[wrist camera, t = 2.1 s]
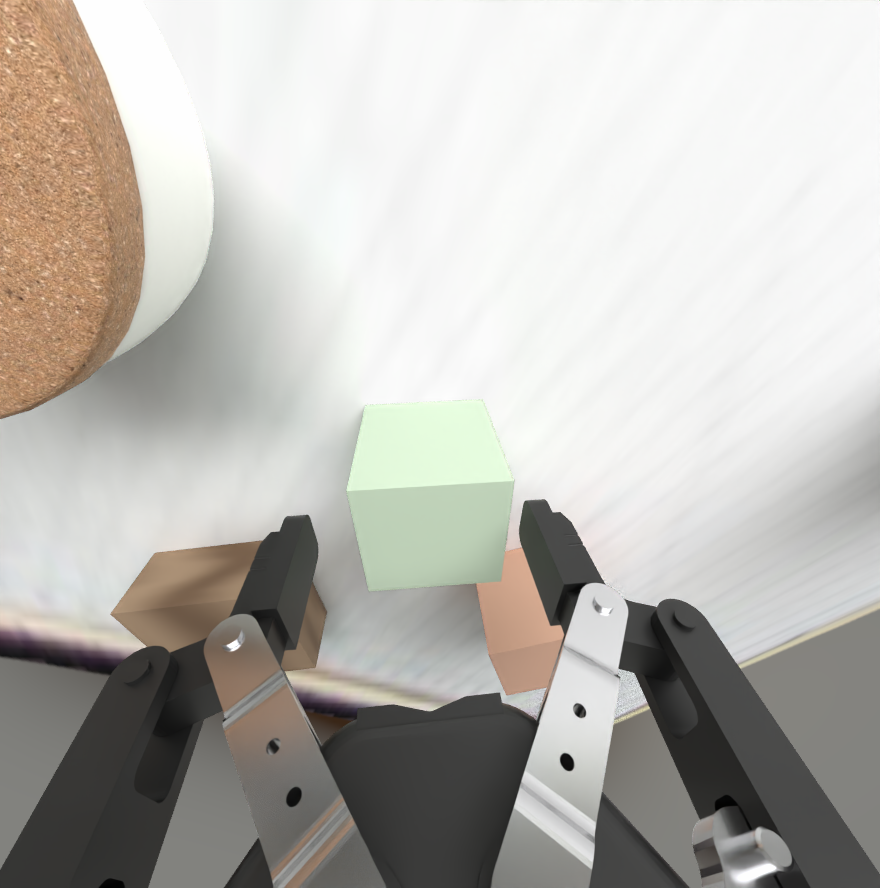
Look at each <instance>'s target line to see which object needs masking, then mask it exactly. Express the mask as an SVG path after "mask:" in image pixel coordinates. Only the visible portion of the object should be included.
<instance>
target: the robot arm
mask: <svg viewBox="0 0 880 888" xmlns="http://www.w3.org/2000/svg"><path fill="white" fill-rule="evenodd" d="M519 537H520V542H521V546H522V548H523V551H524V554H525V557H526V560H527V562H528V565H529V568H530V571H531V573H532V576H533V579H534V582H535V585H536V587H537V590H538V593H539V596H540V599H541V601H542V604H543V607H544V610H545V613H546V615H547V618H548V621H549V624H550V626H556V625H561V627H562V630H563V633H564V636H563V639H562V642H561V645H560V649H559V652H558V655H557V658H556V661H555V664H554V667H553V670H552V673H551V676H550V679H549V683H548V686H547V689H546V692H545V694H544V697H543V700H542V703H541V706H540V709H539V712H538V715H537V718H536V720H535V719H534V718H533V717H531V716H530V715H528V714H527V713H525V712H524V711H522V710H520V709H518V708H516V707H513V706H511V705H508V704H504V703H502V701H501V696H500V693H492V694H483V695H474V696H466V697H463V698H461V699H459V700H457V701H454V702H452V703H450V704H447V705H445V706H443V707H441V708H438V709H436V710H434V711H423V710H418V709H413V708H408V707H403V706H398V705H394V704H393V705H384V706H375V707H366V708H358V710H357V720H354V721H352V722H350V723H349V724H347V725H345V726H344V727H342V728H341V729H339V730H338V731H337V732H335V733H334V734H333V735H332V736H331V737H330V738H329V739H328V740H327V741H326V742H325V743H324V744H323V745H321V743H320V741H319V739H318V737H317V735H316V733H315V731H314V729H313V727H312V726H311V724H310V722H309V720H308V718H307V716H306V714H305V712H304V710H303V708H302V706H301V704H300V702H299V700H298V698H297V696H296V694H295V692H294V690H293V688H292V686H291V684H290V682H289V680H288V678H287V676H286V674H285V672H284V670H283V668H282V666H281V663H282V659H283V655H284V652H285V651H286V650H296V648H297V644H298V640H299V635H300V631H301V627H302V623H303V618H304V614H305V610H306V606H307V602H308V597H309V593H310V589H311V585H312V580H313V576H314V572H315V568H316V563H317V559H318V543H317V539H316V536H315V533H314V529H313V526H312V523H311V519H310V517H309V515H300V516H287V517H285V519H284V521H283V524H282V527H281V529H280V532H271V533H270V534H269V535H268V536H267V537H266V538H265V539H264V540H263V541H262V543H261V544H260V545H259V548H258V550H257V552H256V555H255V557H254V560H253V562H252V564H251V567H250V571H248V574H247V576H246V579H245V581H244V583H243V586H242V588H241V591H240V593H239V595H238V598H237V600H236V603H235V605H234V607H233V610H232V612H231V614H230V616H229V618H227V619H225V620H224V621H222V622H221V623H220V624H218V625H217V626H216V627H215V628H214V629H213V630H212V631H211V633H210V634H209V636H208V637H207V638H205V639H203V640H201V641H198V642H196V643H193V644H190V645H188V646H185V647H183V648H180V649H178V650H175V651H172V652H169V651H168V650H167V649H166V648H164V647H162V646H149V647H146V648H143V649H141V650H139V651H136V652H135V653H133V654H131V655H130V656H129V657H127V658H126V659H125V660H124V661H122V662H121V663H120V664H119V665H118V666H117V667H116V669H115V670H114V671H113V672H112V674H111V675H110V677H109V678H108V680H107V682H106V684H105V686H104V687H103V689H102V691H101V693H100V694H99V696H98V698H97V700H96V702H95V703H94V705H93V707H92V709H91V710H90V712H89V714H88V716H87V717H86V719H85V721H84V723H83V725H82V726H81V728H80V730H79V732H78V733H77V735H76V737H75V739H74V740H73V742H72V744H71V746H70V747H69V749H68V751H67V753H66V755H65V756H64V758H63V760H62V762H61V763H60V765H59V767H58V769H57V770H56V772H55V774H54V776H53V778H52V779H51V781H50V783H49V785H48V786H47V788H46V790H45V792H44V793H43V795H42V797H41V799H40V801H39V802H38V804H37V806H36V808H35V809H34V811H33V813H32V815H31V816H30V819H29V820H28V822H27V824H26V825H25V827H24V829H23V831H22V832H21V834H20V836H19V838H18V840H17V841H16V843H15V845H14V847H13V848H12V850H11V852H10V854H9V855H8V857H7V859H6V861H5V862H4V864H3V866H2V868H1V870H0V888H148V886H149V883H150V880H151V877H152V874H153V871H154V868H155V865H156V862H157V859H158V856H159V853H160V850H161V847H162V844H163V841H164V838H165V835H166V832H167V829H168V826H169V823H170V820H171V817H172V814H173V811H174V808H175V805H176V802H177V799H178V796H179V793H180V790H181V787H182V784H183V781H184V778H185V775H186V772H187V769H188V766H189V763H190V760H191V757H192V754H193V751H194V748H195V745H196V742H197V739H198V736H199V733H200V730H201V727H202V724H203V721H204V719H205V718H208V717H210V716H212V715H214V714H216V713H218V712H221V711H223V712H224V716H225V719H224V720H223V728H224V732H225V735H226V738H227V741H228V744H229V748H230V751H231V754H232V757H233V760H234V763H235V766H236V769H237V772H238V775H239V778H240V781H241V784H242V787H243V790H244V793H245V797H246V800H247V803H248V805H249V809H250V812H251V815H252V818H253V821H254V824H255V827H256V830H257V833H258V836H259V837H258V839H257V840H256V842H255V843H254V845H253V846H252V848H251V849H250V850H249V852H248V854H247V855H246V856H245V858H244V859H243V861H242V862H241V864H240V865H239V866H238V868H237V869H236V871H235V872H234V874H233V875H232V877H231V878H230V880H229V881H228V883H227V884H226V886H225V887H224V888H689V886H688V885H687V884H686V883H685V882H684V881H683V880H682V878H681V877H680V876H679V875H678V874H677V873H676V872H675V871H674V870H673V869H672V868H671V867H670V865H669V864H668V863H667V862H666V861H665V860H664V859H663V858H662V857H661V856H660V854H659V853H658V852H657V851H656V850H655V849H654V848H653V847H652V846H651V845H650V843H649V842H648V841H647V840H646V839H645V838H644V837H643V836H642V835H641V834H640V832H639V831H637V829H636V828H635V827H634V826H633V825H632V824H631V823H630V821H629V820H628V819H627V818H626V817H625V816H624V815H623V814H622V813H621V812H620V811H619V810H618V808H617V807H616V806H615V805H614V804H613V803H612V802H611V801H610V800H609V799H608V798H607V797H606V795H605V794H604V793H603V792H602V787H603V781H604V775H605V770H606V764H607V758H608V752H609V746H610V741H611V735H612V728H613V723H614V717H615V712H616V706H617V700H618V694H619V688H620V677H619V676H618V669H622V670H626V671H630V672H633V673H635V675H636V678H637V680H638V682H639V684H640V686H641V689H642V691H643V693H644V695H645V698H646V700H647V702H648V704H649V707H650V709H651V711H652V713H653V716H654V718H655V720H656V722H657V724H658V727H659V729H660V731H661V733H662V736H663V738H664V740H665V742H666V745H667V747H668V749H669V751H670V754H671V756H672V758H673V760H674V762H675V765H676V767H677V769H678V771H679V773H680V776H681V778H682V780H683V783H684V785H685V787H686V789H687V792H688V793H689V796H690V798H691V800H692V803H693V805H694V807H695V810H696V812H697V814H698V816H699V818H700V820H699V821H698V822H697V823H696V825H695V827H694V830H693V837H692V842H693V849H694V854H695V857H696V860H697V863H698V866H699V870H700V874H701V881H702V888H880V874H879V872H878V871H877V869H876V868H875V867H874V865H873V864H872V862H871V861H870V859H869V858H868V856H867V855H866V853H865V852H864V850H863V849H862V847H861V846H860V844H859V843H858V841H857V840H856V838H855V837H854V836H853V834H852V833H851V831H850V830H849V828H848V827H847V825H846V824H845V822H844V821H843V819H842V818H841V816H840V815H839V814H838V812H837V811H836V809H835V808H834V806H833V805H832V803H831V802H830V800H829V799H828V797H827V796H826V795H825V793H824V791H823V790H822V789H821V787H820V786H819V784H818V783H817V781H816V780H815V778H814V777H813V775H812V774H811V773H810V771H809V769H808V768H807V766H806V765H805V763H804V762H803V761H802V759H801V758H800V756H799V755H798V753H797V752H796V750H795V749H794V747H793V746H792V744H791V743H790V742H789V740H788V739H787V737H786V736H785V734H784V733H783V731H782V730H781V728H780V727H779V725H778V724H777V723H776V721H775V719H774V718H773V717H772V715H771V714H770V712H769V711H768V709H767V708H766V706H765V705H764V703H763V702H762V700H761V699H760V697H759V696H758V694H757V693H756V692H755V690H754V689H753V687H752V686H751V684H750V683H749V681H748V680H747V679H746V677H745V675H744V674H743V672H742V671H741V669H740V668H739V666H738V665H737V663H736V662H735V661H734V659H733V658H732V656H731V655H730V653H729V652H728V650H727V649H726V647H725V646H724V644H723V643H722V641H721V640H720V638H719V637H718V636H717V634H716V633H715V631H714V630H713V628H712V627H711V625H710V624H709V622H708V621H707V619H706V618H705V617H704V616H703V615H702V614H701V613H700V612H699V611H698V610H697V609H696V608H694V607H693V606H691V605H690V604H688V603H686V602H683V601H680V600H677V599H666V600H663V601H661V602H660V603H659V605H658V606H657V607H654V606H649V605H645V604H640V603H635V602H631V601H628V600H626V599H623V597H622V596H621V595H620V594H619V593H618V592H617V591H616V590H614V589H613V588H611V587H609V586H607V585H606V584H605V583H604V581H603V580H602V578H601V576H600V574H599V572H598V571H597V569H596V567H595V565H594V563H593V561H592V559H591V558H590V556H589V554H588V552H587V550H586V548H585V547H584V546H583V543H582V541H581V539H580V537H579V536H578V535H577V532H576V530H575V528H574V526H573V524H572V523H571V521H569V520H568V519H567V518H566V517H565V516H564V515H563V514H562V513H561V512H556V513H553V512H552V510H551V508H550V506H549V504H548V503H547V501H546V500H545V499H542V500H528V501H525V502H524V504H523V510H522V516H521V521H520V527H519Z"/></svg>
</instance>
